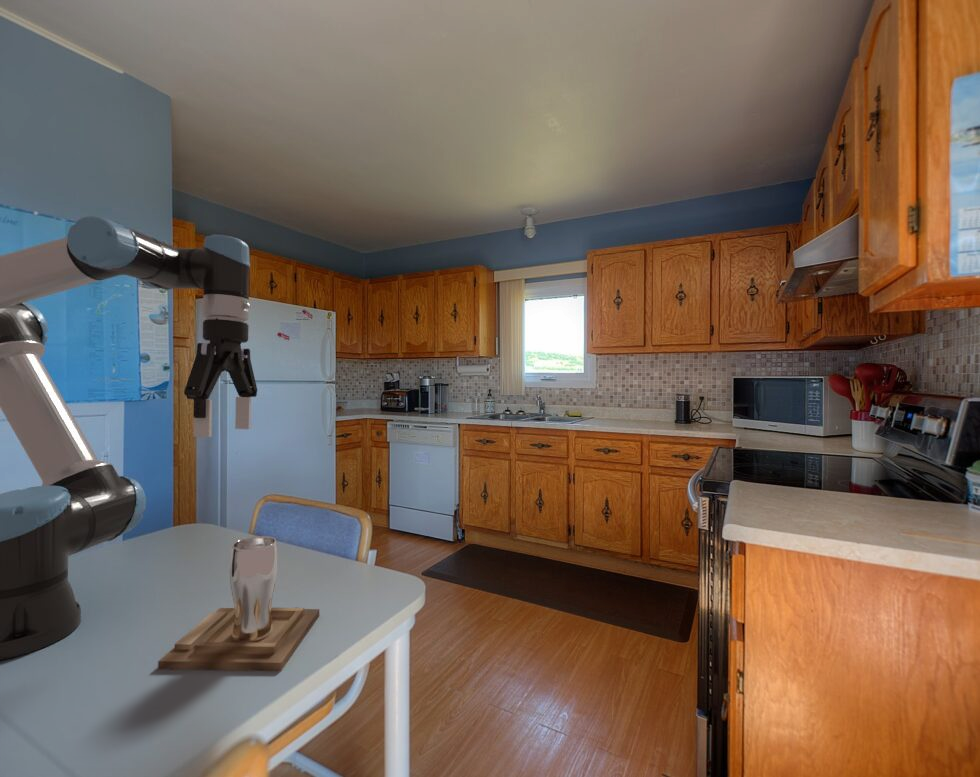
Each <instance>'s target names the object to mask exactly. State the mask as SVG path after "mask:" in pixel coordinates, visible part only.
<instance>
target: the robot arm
mask: <svg viewBox="0 0 980 777" xmlns="http://www.w3.org/2000/svg"><path fill="white" fill-rule="evenodd" d="M202 246H203V247H200V248H199V247H197V248H195V247H194V248H186V247H183V248H182V247H175V246H173V245H171V244H168V243H166V242H164V241H161V240H159V239H156V238H154V237H151V236H149V235H146V234H144V233H142V232H139V231H137V230H135V229H132V228H131V227H128V226H126V225H124V224H123V223H120V222H118V221H115V220H114V221H113V220H110V219H106V218H104V217H101V216H100V217H99V216H96V215H89V216H87V215H86V216H84V217H83V216H82V217H81V218H78V219H77V221H76V222H75V224H73V225H71V226H70V227H69V228H68V231H67V235H66V237H61V238H58V239H54V240H51V241H47V242H44V243H40V244H38V245H33V246H30V247H26V248H23V249H20V250H16V251H13V252H9V253H6V254H1V255H0V409H1V411H2V413H3V415H4V417H5V418H6V420H7V422H8V424H9V425H10V427H11V429H12V430H13V432H14V434H15V436H16V437H17V439H18V440H19V443H20V445H21V447H22V448H23V449H24V451H25V453H26V455H27V457H28V458H29V460H30V462H31V463H32V466H33V467H34V469H35V470H36V473H37V475H38V476H39V478H40V479H41V481H42V482H41V484H40V486H39V485H38V486H31V487H26V488H24V489H15V490H10V491H6V492H2V493H0V661H3V660H7V659H11V658H15V657H19V656H23V655H25V654H29V653H31V652H34V651H35V652H36V651H37V650H40V649H42V648H45V647H47V646H49V645H52V644H53V643H56V642H58V641H60V640H62V639H64V638H66V637H68V636H69V635H70V634H71V633H73V632H74V631H75V630H76V629H77V628H79V626H80V625H81V622H82V608H81V605H80V603H79V602H78V601H76V597H75V594H74V591H73V588H72V586H71V584H70V582H69V556H72V555H74V554H78V553H80V552H83V551H85V550H87V549H90V548H93V547H95V546H97V545H100V544H102V543H106V542H110V541H113V540H115V539H117V538H118V537H121V536H122V535H123V534H126V533H128V532H130V531H131V530H133V529H135V527H136V526H137V525H138V524H139V523H140V521H141V520H142V518H143V516H144V511H145V509H146V504H147V499H146V494H145V491H144V489H143V487H142V485H141V484H140V483H139V481H137V480H136V479H134V478H131V477H129V476H124V475H121V476H120V475H119V474H118V472H117V470H116V469H115V466H114V465H113V464H112V463H111V462H107V461H102V460H100V459H98V457H97V455H96V454H95V451H94V450H93V449H92V448H93V447H92V446H91V445H90V443H89V441H88V439H87V438H86V436H85V434H84V432H83V430H82V428H81V427H80V426H79V424H78V422H77V420H76V419H75V417H74V415H73V413H72V411H71V410H70V408H69V406H68V405H67V403H66V401H65V399H64V398H63V396H62V395H61V392H60V391H59V389H58V387H57V386H56V384H55V382H54V380H53V379H52V376H51V375H50V373H49V372H48V370H47V368H46V367H45V366H46V365H44V363H43V361H42V360H41V359H42V358H43V356H44V354H45V352H46V344H47V342H48V338H49V336H48V335H47V333H48V332H49V326H48V325H49V324H48V321H47V319H46V318H45V316H44V315H43V313H42V312H41V311H40V310H39V309H38V308H37V307H35V306H34V305H32V304H31V303H29V301H35V300H36V299H40V298H45V297H47V296H52V295H54V294H58V293H61V292H65V291H68V290H71V289H75V288H78V287H82V286H87V285H89V284H92V283H96V282H99V281H100V282H101V281H105V280H108V279H112V278H116V277H119V276H128V277H132V278H135V279H138V280H139V281H141V282H142V284H143V285H144V286H145V287H148V288H155V289H163V290H175V289H176V290H181V289H183V290H190V289H191V290H203V295H202V316H203V317H204V318H206V319H204V321H202V339H203V340H205V341H208V342H205V343H204V342H198V343H197V345H196V353H195V354H196V356H195V357H194V358H195V359H194V361H193V364H192V367H191V370H190V372H189V376H188V379H187V380H186V381H187V382H186V385H185V388H184V390H183V392H184V393H183V394H184V395H185V396H186V399H187V400H193V431H192V432H193V434H192V436H193V438H195V437H196V438H210V437H212V434H213V433H212V432H213V429H212V428H213V399H209V398H210V396H211V394H212V392H213V390H214V388H215V386H216V384H217V382H218V380H219V378H220V376H221V374H222V372H227V373H228V375H229V377H230V379H231V381H232V384H233V386H234V388H235V391H236V392H237V395H238V396H236V397H235V415H234V416H235V418H234V419H235V422H234V424H235V425H234V429H236V430H250V429H252V428H251V427H252V426H251V425H252V424H251V422H252V421H251V420H252V414H251V413H252V411H251V410H252V398H257V395H258V387H257V382H256V379H255V373H254V370H253V365H252V361H251V349H250V348H243V347H242V346H241V345H242V344H243V343H247V342H248V341H249V324H248V323H247V322H246V321H248V320H249V309H250V308H251V305H250V303H249V298H250V297H249V294H250V293H249V291H250V289H249V288H250V270H251V263H250V247H249V245H248V244H247V243H246V242H245V241H243V240H242V239H240V238H238V237H234V236H231V235H224V234H211V235H207V236H205V238H204V239H203V245H202Z"/></svg>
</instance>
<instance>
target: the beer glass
mask: <svg viewBox="0 0 980 777" xmlns="http://www.w3.org/2000/svg"><path fill="white" fill-rule="evenodd" d="M277 575H278V548H277V538H275V537H274V536H269V535H256V536H250V537H245V538H241V539H238V540H236V541H235V542H233V543H232V544H231V553H230V561H229V582H230V591H231V596H232V601H233V608H235V622H234V627H233V631H232V639H233V640H234V641H235V642H241V643H251V642H256V641H259V640H261V639H264V638H266V637H267V636H269V635H270V634H271V633H272V631H273V621H272V616H271V608H272V602H273V597H274V592H275V587H276V582H277Z"/></svg>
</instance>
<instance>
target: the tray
mask: <svg viewBox="0 0 980 777" xmlns="http://www.w3.org/2000/svg"><path fill="white" fill-rule="evenodd" d="M271 616H272V621H273V631H272V633H271V634H270V635H269V636H267V637H266V638H264V639H261V640H259V641H256V642H251V643H241V642H235V641H234V640H233V639H232V631H233V627H234V622H235V608H234V607H220V608H218V609H217V610H216V611H212V612H211V613H209V614H208V615H207V616H206V617H204V618H203V619H202V620H201V621H200V622H199V623H198V624H196V626H194V627H193V628H192V629H190V630H189V632H187V633H186V634H184V636H182V637H181V638H179V640H178V641H177V642H176V643H174V647H172V649H170V650H169V651H168V652H167V653H166V654H164V656H163V657H161V658H160V659H159V660H158V661H157V670H177V671H178V670H183V671H186V670H187V671H188V670H190V671H195V670H198V671H264V672H265V671H267V672H268V671H271V672H272V671H274V672H276V671H277V672H278V671H279V672H282V670H283V669H284V667H285V666H286V665H287V663H288V661H289V660H291V658H292V656H293V654H294V653H295V651H296V650H297V649H298V647H299V646H300V645H301V643H302V641H303V640H304V638H305V637H306V636H307V634H308V633H309V632H310V630H311V629H312V628H313V626H314V624H316V622H317V620H318V619H319V618H320V608H314V609H312V608H305V607H271Z"/></svg>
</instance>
